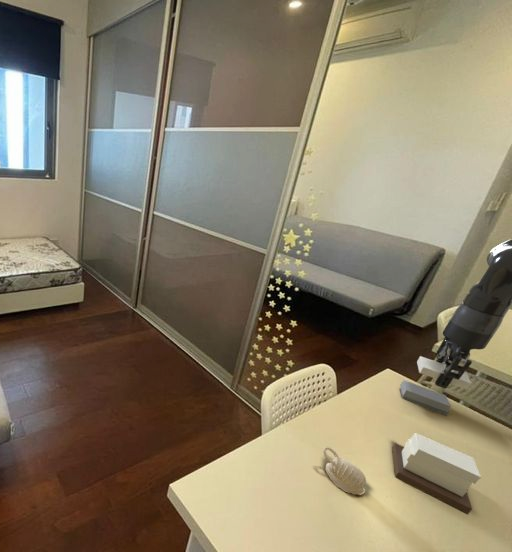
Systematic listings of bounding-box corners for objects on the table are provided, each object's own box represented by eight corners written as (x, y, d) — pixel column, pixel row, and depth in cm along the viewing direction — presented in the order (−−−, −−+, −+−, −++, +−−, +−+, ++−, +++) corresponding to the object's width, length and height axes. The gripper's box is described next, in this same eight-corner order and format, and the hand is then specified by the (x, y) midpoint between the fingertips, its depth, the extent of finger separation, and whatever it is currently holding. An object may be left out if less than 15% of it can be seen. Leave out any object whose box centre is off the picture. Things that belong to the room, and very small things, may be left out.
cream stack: (457, 478, 67) (477, 453, 64) (467, 514, 60) (491, 489, 57) (391, 447, 73) (407, 423, 70) (395, 476, 66) (412, 452, 63)
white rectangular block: (461, 377, 82) (465, 371, 82) (467, 390, 78) (471, 383, 77) (416, 361, 87) (420, 356, 86) (419, 373, 83) (423, 366, 82)
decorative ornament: (358, 502, 60) (370, 484, 58) (312, 467, 66) (322, 449, 64) (365, 490, 62) (377, 473, 60) (320, 457, 68) (330, 440, 66)
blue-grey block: (440, 407, 86) (448, 396, 85) (444, 419, 82) (452, 408, 81) (396, 389, 91) (403, 379, 89) (398, 400, 87) (405, 389, 85)
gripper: (504, 344, 69) (463, 402, 76) (486, 319, 80) (451, 372, 86) (457, 330, 73) (422, 387, 80) (445, 308, 84) (416, 359, 90)
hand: (437, 379), depth 83 cm, fingers closed on white rectangular block, 6 cm apart
